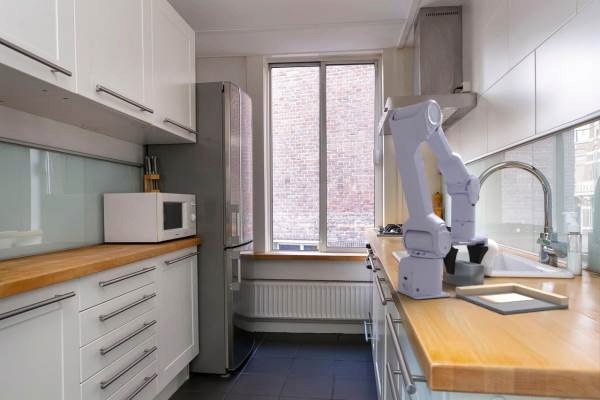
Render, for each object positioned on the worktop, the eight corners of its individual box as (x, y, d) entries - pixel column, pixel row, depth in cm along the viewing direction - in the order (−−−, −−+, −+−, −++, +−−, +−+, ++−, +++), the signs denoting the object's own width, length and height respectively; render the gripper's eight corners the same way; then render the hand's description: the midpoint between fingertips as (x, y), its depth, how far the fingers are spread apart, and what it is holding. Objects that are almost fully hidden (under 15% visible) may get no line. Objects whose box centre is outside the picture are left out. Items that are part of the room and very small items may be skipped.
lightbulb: (477, 272, 105) (477, 237, 105) (500, 276, 101) (501, 238, 101) (472, 276, 100) (472, 238, 100) (496, 279, 96) (497, 240, 96)
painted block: (470, 290, 84) (470, 266, 84) (442, 281, 94) (442, 259, 94) (483, 289, 86) (483, 265, 86) (454, 280, 95) (455, 258, 95)
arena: (504, 314, 66) (504, 303, 66) (455, 296, 79) (455, 287, 79) (568, 307, 71) (568, 297, 71) (513, 291, 84) (513, 282, 84)
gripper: (450, 222, 84) (450, 278, 84) (497, 221, 88) (497, 274, 88) (431, 220, 91) (431, 272, 91) (476, 220, 95) (475, 269, 95)
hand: (462, 273), depth 90 cm, fingers open, 7 cm apart
